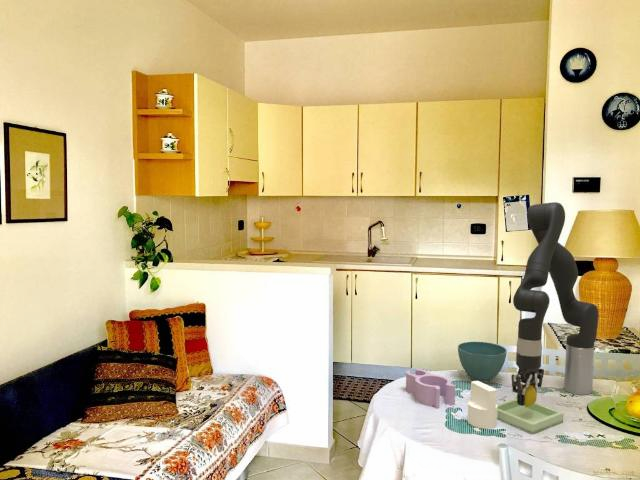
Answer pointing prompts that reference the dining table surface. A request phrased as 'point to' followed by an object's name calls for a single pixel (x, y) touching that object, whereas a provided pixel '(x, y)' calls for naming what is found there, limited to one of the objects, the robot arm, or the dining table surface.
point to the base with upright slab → (482, 406)
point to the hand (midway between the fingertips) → (526, 402)
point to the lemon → (530, 396)
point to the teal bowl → (481, 360)
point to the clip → (430, 388)
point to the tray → (528, 416)
